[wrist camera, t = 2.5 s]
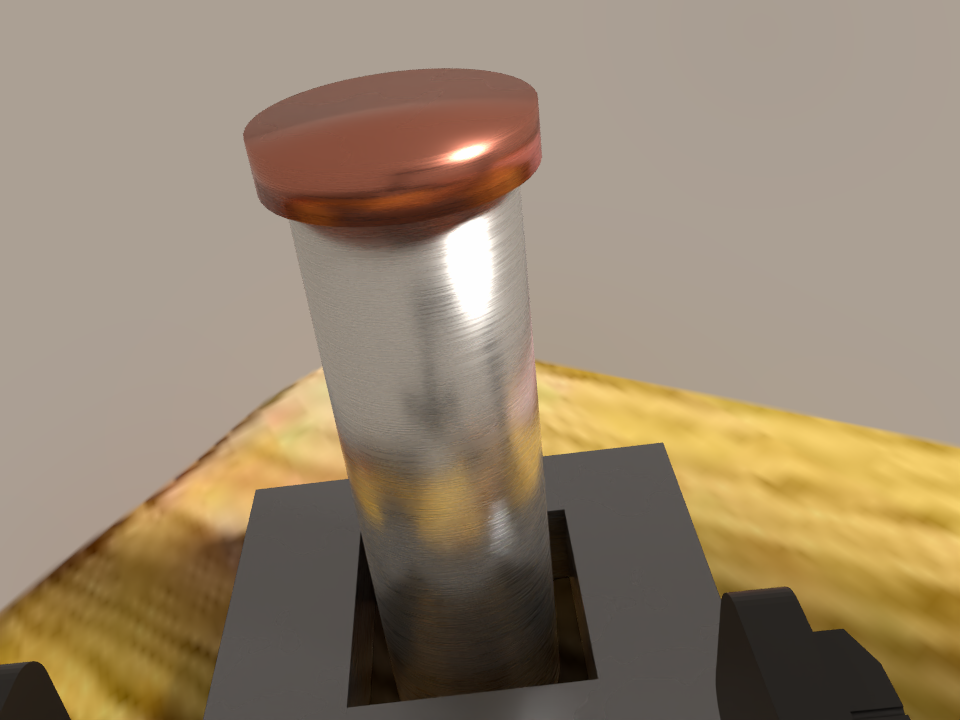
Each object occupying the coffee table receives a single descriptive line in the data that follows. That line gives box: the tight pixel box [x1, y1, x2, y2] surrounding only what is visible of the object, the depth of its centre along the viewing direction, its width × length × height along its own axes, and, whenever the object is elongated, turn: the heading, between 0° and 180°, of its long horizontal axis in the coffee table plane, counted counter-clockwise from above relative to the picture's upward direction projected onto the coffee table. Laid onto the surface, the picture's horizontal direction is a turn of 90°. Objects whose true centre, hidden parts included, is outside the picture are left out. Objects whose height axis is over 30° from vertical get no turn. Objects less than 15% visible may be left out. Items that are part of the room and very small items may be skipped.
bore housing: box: [203, 443, 721, 720], centre depth 27 cm, size 14×12×3 cm
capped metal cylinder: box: [243, 68, 560, 702], centre depth 23 cm, size 6×6×17 cm
